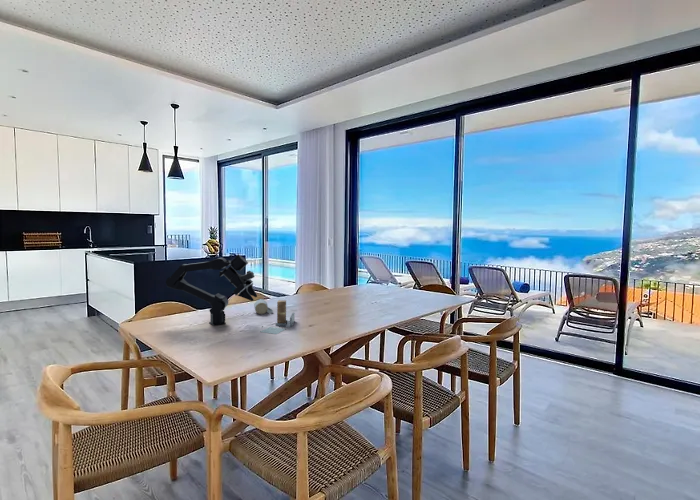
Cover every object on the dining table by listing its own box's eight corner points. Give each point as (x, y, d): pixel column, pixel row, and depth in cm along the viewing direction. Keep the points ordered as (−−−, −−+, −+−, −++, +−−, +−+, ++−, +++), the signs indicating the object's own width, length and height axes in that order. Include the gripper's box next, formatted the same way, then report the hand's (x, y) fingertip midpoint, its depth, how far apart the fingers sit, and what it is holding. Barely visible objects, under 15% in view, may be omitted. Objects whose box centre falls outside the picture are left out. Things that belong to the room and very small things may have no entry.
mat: (259, 332, 178) (259, 331, 178) (270, 327, 187) (270, 326, 187) (276, 334, 175) (276, 333, 175) (285, 330, 184) (285, 329, 184)
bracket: (274, 327, 187) (274, 317, 187) (278, 321, 199) (278, 312, 199) (291, 327, 188) (291, 318, 187) (294, 321, 200) (294, 312, 199)
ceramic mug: (255, 315, 212) (255, 302, 211) (254, 312, 219) (254, 299, 219) (273, 314, 215) (274, 301, 215) (272, 311, 223) (272, 298, 222)
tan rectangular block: (277, 324, 191) (277, 301, 191) (278, 322, 196) (278, 300, 195) (285, 324, 192) (285, 302, 191) (286, 322, 196) (286, 300, 195)
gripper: (240, 268, 182) (262, 291, 183) (249, 264, 201) (269, 285, 202) (223, 283, 182) (246, 306, 183) (234, 278, 201) (254, 298, 202)
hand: (254, 298), depth 193 cm, fingers open, 9 cm apart
